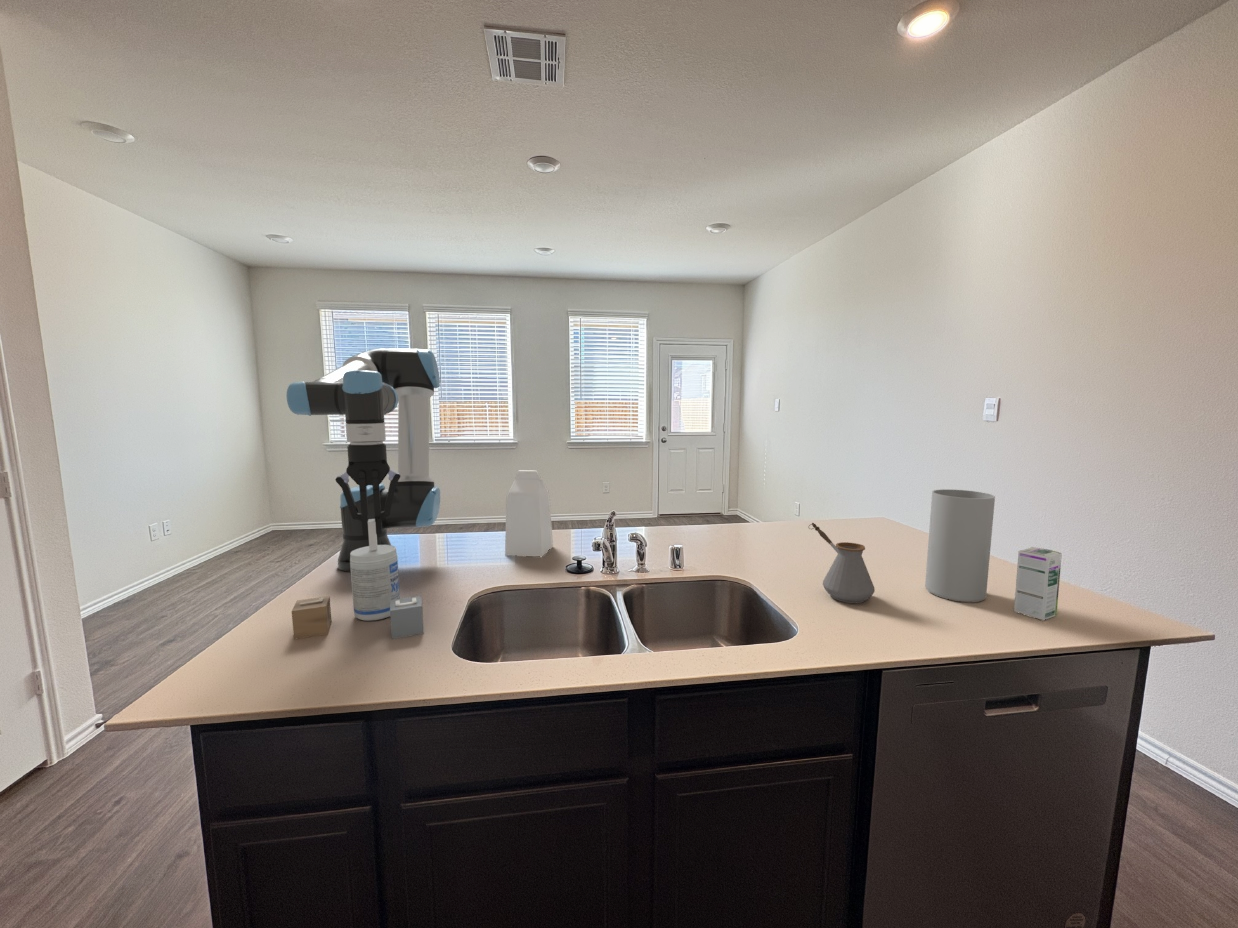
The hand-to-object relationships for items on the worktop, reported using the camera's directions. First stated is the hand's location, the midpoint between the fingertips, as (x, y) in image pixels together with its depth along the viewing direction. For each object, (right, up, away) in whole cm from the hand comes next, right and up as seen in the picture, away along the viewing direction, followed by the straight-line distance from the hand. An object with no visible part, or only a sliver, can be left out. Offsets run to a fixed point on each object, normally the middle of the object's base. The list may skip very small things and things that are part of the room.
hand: (373, 548), depth 111 cm
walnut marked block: (-9, -16, -7) cm, 20 cm away
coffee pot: (+109, -13, +15) cm, 111 cm away
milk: (+26, -9, +49) cm, 56 cm away
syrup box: (+147, -15, 0) cm, 148 cm away
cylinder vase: (+138, -13, +12) cm, 139 cm away
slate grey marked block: (+10, -16, -7) cm, 20 cm away
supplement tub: (0, -15, +2) cm, 15 cm away
